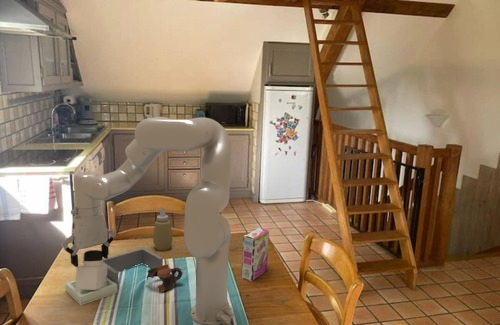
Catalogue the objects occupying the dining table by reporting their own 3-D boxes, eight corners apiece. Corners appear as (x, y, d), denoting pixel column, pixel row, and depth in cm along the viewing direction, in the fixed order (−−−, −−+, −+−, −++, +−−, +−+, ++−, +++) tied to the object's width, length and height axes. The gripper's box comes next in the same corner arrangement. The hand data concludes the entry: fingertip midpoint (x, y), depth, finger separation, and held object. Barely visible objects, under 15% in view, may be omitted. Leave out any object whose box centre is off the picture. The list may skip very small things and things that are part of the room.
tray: (117, 292, 130) (117, 284, 130) (80, 305, 122) (80, 297, 122) (101, 279, 139) (100, 272, 138) (65, 291, 130) (65, 283, 130)
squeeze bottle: (176, 247, 169) (176, 207, 166) (163, 254, 162) (162, 211, 159) (162, 243, 173) (162, 204, 170) (149, 249, 166) (148, 208, 163)
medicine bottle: (106, 286, 132) (108, 249, 133) (96, 290, 125) (98, 251, 126) (86, 286, 132) (88, 249, 134) (75, 289, 125) (77, 251, 127)
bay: (162, 273, 145) (162, 258, 144) (115, 290, 132) (114, 273, 131) (144, 262, 154) (143, 247, 153) (98, 276, 141) (97, 260, 140)
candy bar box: (253, 282, 140) (254, 238, 137) (241, 278, 143) (242, 235, 140) (267, 271, 150) (269, 229, 147) (256, 267, 152) (257, 227, 149)
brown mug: (150, 295, 129) (144, 270, 131) (151, 294, 138) (145, 271, 140) (186, 283, 132) (179, 259, 134) (184, 283, 141) (178, 261, 143)
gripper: (64, 219, 117) (67, 273, 120) (119, 208, 129) (120, 257, 132) (55, 213, 122) (58, 265, 125) (109, 203, 134) (110, 251, 137)
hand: (90, 261), depth 129 cm, fingers open, 9 cm apart
